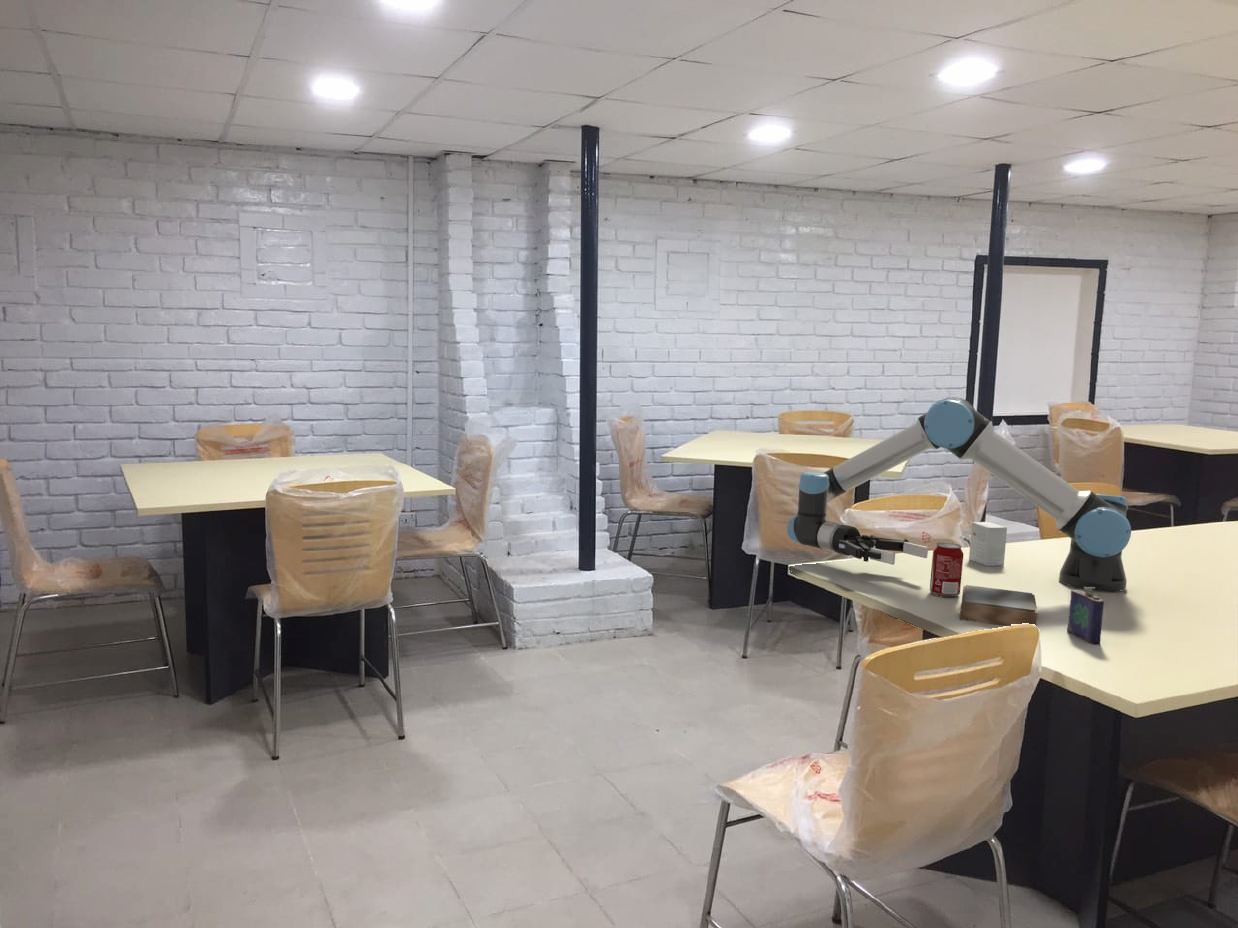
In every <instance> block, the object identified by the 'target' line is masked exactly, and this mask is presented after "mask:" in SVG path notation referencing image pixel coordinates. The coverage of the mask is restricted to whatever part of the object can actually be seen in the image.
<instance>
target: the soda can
mask: <svg viewBox="0 0 1238 928" xmlns="http://www.w3.org/2000/svg"><path fill="white" fill-rule="evenodd" d="M964 555H965V554H964V552H963V550H962V545H961V544H959V543H954V542H949V541H945V542H944V541H939V542H937V543H936V546H935V547H934V549H933V550H932V559H931V570H930V582H929V591H930V592H931V593H932V594H933V595H934V594H935V595H934V596H936V595H938V596H937V597H940V596H942V598H947V597H948V598H949V599H950V598H955V597H957V596H960V594H961V585H962V574H963V573H962V572H963V563H964Z"/></svg>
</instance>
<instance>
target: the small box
mask: <svg viewBox="0 0 1238 928" xmlns="http://www.w3.org/2000/svg"><path fill="white" fill-rule="evenodd" d="M970 530H971V531H970V541H969V543H970V544H969V554H968V555H969V556H968V559H969V560H971V561H972V562H975V561H976V563H977V564H980V565H983V566H987V567H988V566H989V567H992V566H993V567H994V566H1004V565H1005V555H1006V545H1007V544H1006V543H1007V542H1006V541H1007V531H1008V528H1007V526H1003V525H1001V524H1000V525H999V524H996V523H993V522H990V521H972V522H971V529H970Z"/></svg>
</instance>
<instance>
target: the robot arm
mask: <svg viewBox="0 0 1238 928" xmlns="http://www.w3.org/2000/svg"><path fill="white" fill-rule="evenodd" d="M993 427H994V426H993V421H991V420H989V419H988V418H987V417H985V416H984V415H982V414H981V413H980V412H978V411H977V410H976V409H975V407H974V406H973V404H971V402H969V401H968V400H966V399H964V398H961V397H956V396H955V397H946V398H943V399H940V400H938V401H937V402H935V403H933V404H932V405H931V407H929V409H928V411H927V412H925V413H924V414H921V416H918V417H917V419H916V422H915V423H914V424H912V425H910V426H908V427H906V428H904V429H902V430H901V431H898V432H897V433H895V434H893V435H891V436H889V437H888V438H885V439H883V440H882V441H880V442H879V443H877V444H874V445H872V446H871V447H869V448H867V449H865V450H863V451H862V452H860V453H858V454H856V455H854V456H853V457H850V458H848V459H847V460H845V461H843V462H841V463H839V464H837V465H836V466H833V467H832V468H830V469H828V470H826V471H825V472H818V471H805V472H802V473H801V474H800V478H799V479H800V480H799V484H798V502H797V513H796V514H794V515H793V516H791V517H790V519H789V520H788V524H786V534H787V536H788V538H789V540H791V541H793V542H795V543H798V544H800V545H802V546H809V547H811V548H812V547H813V548H818V549H821V550H826V551H827V553H828V554H831V553H832V552H833V553H837V554H840V555H843V556H847V557H848V556H849V557H854V558H856V559H858V560H861V559H863V562H866V563H867V562H869V560H873V561H875V562H880V563H883V564H888V565H893V566H894V565H895V562H896V552H902V554H906V555H910V556H914V557H919V558H923V559H928V556H929V555H928V554H929V546H925V545H920V544H915V543H912V542H910V541H909V540H908V538H904V539H900V538H899V539H898V538H893V537H885V536H884V537H883V536H878V535H874V534H873V535H872V534H871V535H868V534H867V535H865V534H862V535H861V533H860V531H859V529H858V528H857V527H855V526H852V525H851V526H850V525H847V524H843V523H840V522H839V523H838V522H835V521H828V520H827V510H828V509H827V508H828V503H829V502H830V501H832V500H833V499H836V498H837V497H840V496H841V495H843V494H845V493H847V492H849V491H850V490H851V491H852V489H854V488H856V487H859V486H861V485H863V484H865V483H866V482H868V481H869V480H873V478H876V477H878V476H879V475H881V474H883V473H885V472H888V471H889V470H891V469H893V468H895V467H897V466H899V465H901V464H903V463H904V462H905V463H906V462H907V461H909V460H911V459H912V458H914V457H916V456H918V455H920V454H923V453H924V452H926V451H928V450H930V449H933V450H938V449H940V448H943V449H946V450H947V451H948V452H949V453H951V454H952V455H954V456H955V457H957V458H958V459H960V460H962V461H963V460H972V461H973V462H974V463H976V464H977V465H979V466H980V467H982V468H983V469H985V471H987V472H989V473H990V474H992V475H993V476H994V477H995V478H997V479H999V480H1000V481H1002V483H1004V484H1005V485H1007V486H1009V487H1010V488H1011V489H1012V490H1014V491H1015V492H1016V493H1018V494H1020V496H1022V497H1024V498H1025V499H1026V500H1028V501H1029V502H1031V503H1032V504H1033V505H1035V506H1036V507H1038V508H1039V509H1041V510H1042V511H1043V512H1044V513H1045V514H1047V515H1049V516H1050V517H1052V518H1053V519H1055V522H1056V528H1057V529H1058V530H1059V531H1060V532H1061V533H1062V534H1064V535H1066V536H1067V537H1069V539H1070V547H1069V552H1068V554H1067V556H1066V558H1065V560H1064V563H1063V564H1062V567H1061V568H1060V570H1059V571H1060V572H1059V574H1058V575H1059V577H1058V581H1059V582H1060V583H1062V584H1065V585H1067V586H1070V587H1073V588H1077V589H1082V590H1085V589H1084V587H1095V589H1093V590H1092V591H1093V592H1095V591H1096V592H1106V593H1107V592H1108V593H1115V592H1114V591H1119V592H1121V591H1120V590H1124V591H1125V590H1126V589H1127V575H1126V571H1125V568H1124V564H1123V560H1122V556H1123V550H1124V549H1125V548H1126V547H1127V546H1128V544H1129V542H1130V539H1131V537H1132V526H1131V523H1130V521H1129V519H1128V517H1127V511H1128V509H1129V505H1128V499H1127V497H1125V496H1121V495H1110V494H1099V493H1094V492H1093V491H1092V490H1091V489H1090V490H1079V489H1077V488H1075V487H1074V486H1073V485H1071V483H1069V482H1068V481H1065V480H1064V479H1063V478H1062V477H1060V475H1057V474H1055V473H1054V472H1053V471H1051V470H1050V469H1048V468H1047V467H1046V466H1044V465H1043V464H1042V463H1040V462H1039V461H1037V460H1036V459H1034V458H1032V457H1031V456H1030V455H1029V454H1027V453H1026V452H1024V451H1023V450H1021V449H1020V448H1019V447H1017V446H1016V445H1014V444H1013V443H1012V442H1010V441H1008V440H1007V439H1005V438H1004V437H1003V436H1001V435H1000V434H998V433H997V432H996V431H994V428H993ZM893 551H894V552H893Z"/></svg>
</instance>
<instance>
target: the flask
mask: <svg viewBox="0 0 1238 928" xmlns="http://www.w3.org/2000/svg"><path fill="white" fill-rule="evenodd" d="M1093 589H1095V587H1084V589H1083V590H1085V591H1083V590H1080V589H1072V590H1070V600H1069V601H1070V602H1069V603H1070V604H1069V609H1068V610H1069V611H1068V612H1069V613H1068V621H1067V627H1066V631H1067V633H1069V634H1072V635H1073V636H1075V637H1077V638H1079V639H1081V640H1083V641H1084V642H1086V643H1088V644H1091V645H1095V646H1098V645H1101V637H1102V636H1101V635H1102V627H1103V626H1102V625H1103V615H1104V605H1105V601H1104V600H1103V599H1102V598H1100V596H1097V595H1096V594H1097V593H1096V592H1095V591H1093Z"/></svg>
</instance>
